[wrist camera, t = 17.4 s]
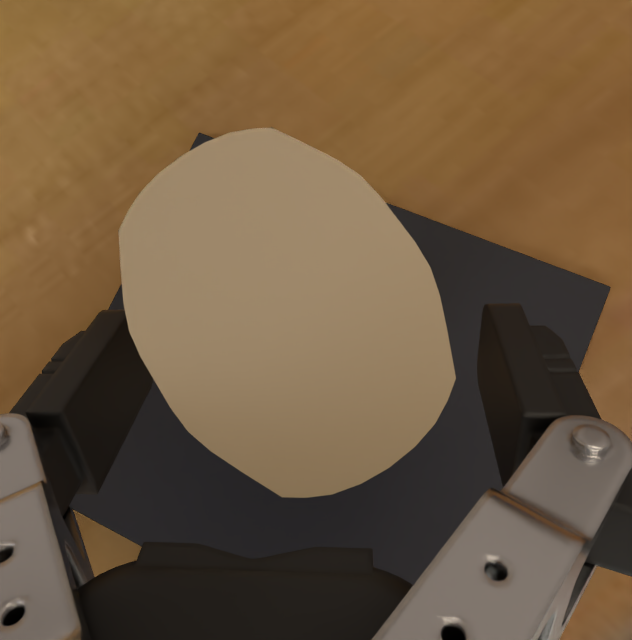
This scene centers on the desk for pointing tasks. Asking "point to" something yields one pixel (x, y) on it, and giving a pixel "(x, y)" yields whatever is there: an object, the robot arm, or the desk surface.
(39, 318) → the desk surface
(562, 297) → the mat
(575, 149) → the desk surface
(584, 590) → the robot arm
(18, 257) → the desk surface
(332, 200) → the handle
